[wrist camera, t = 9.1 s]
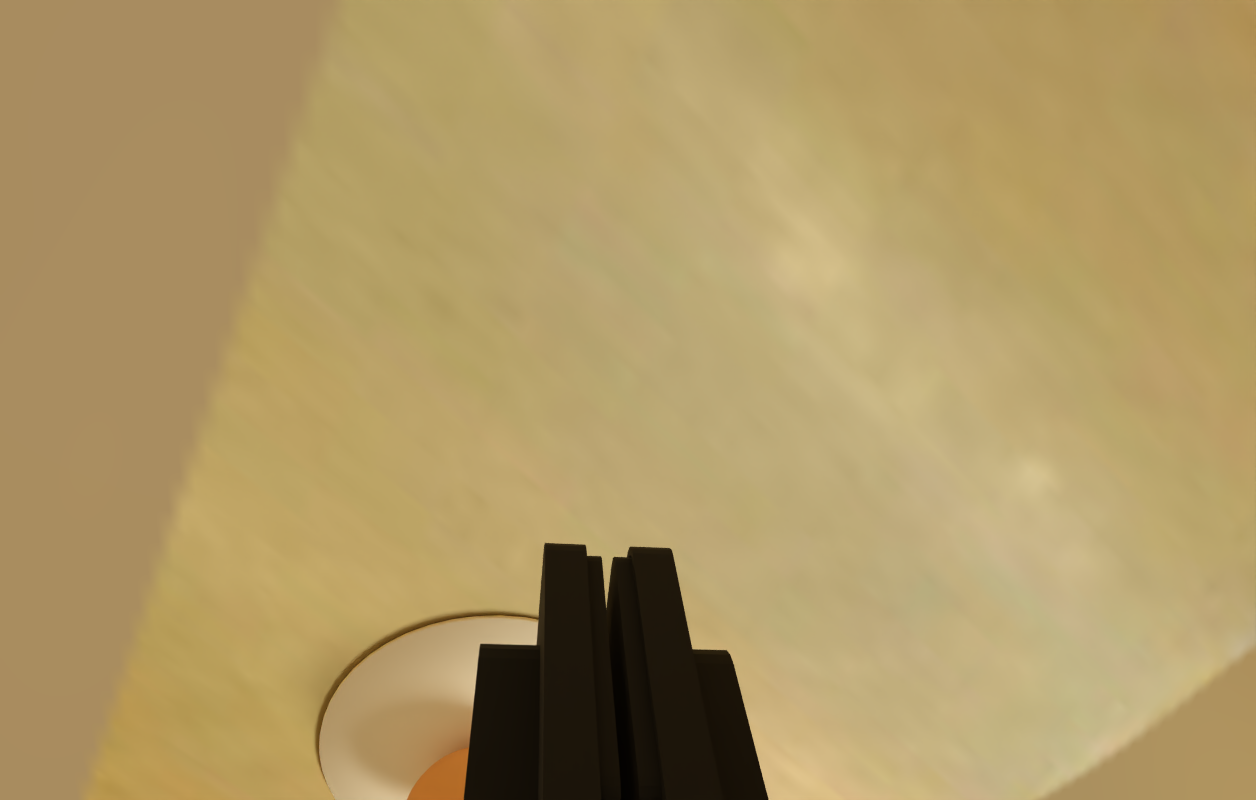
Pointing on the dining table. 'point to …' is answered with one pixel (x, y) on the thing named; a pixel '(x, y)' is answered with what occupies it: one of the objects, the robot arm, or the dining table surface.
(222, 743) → the dining table surface
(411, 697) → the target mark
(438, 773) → the ball
